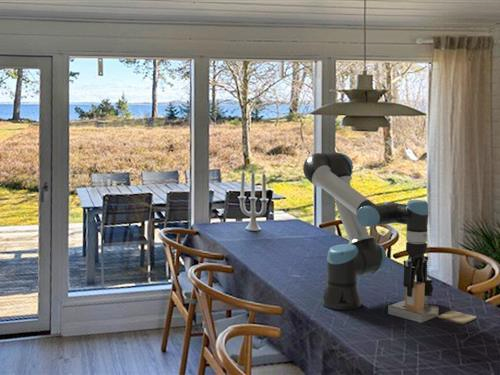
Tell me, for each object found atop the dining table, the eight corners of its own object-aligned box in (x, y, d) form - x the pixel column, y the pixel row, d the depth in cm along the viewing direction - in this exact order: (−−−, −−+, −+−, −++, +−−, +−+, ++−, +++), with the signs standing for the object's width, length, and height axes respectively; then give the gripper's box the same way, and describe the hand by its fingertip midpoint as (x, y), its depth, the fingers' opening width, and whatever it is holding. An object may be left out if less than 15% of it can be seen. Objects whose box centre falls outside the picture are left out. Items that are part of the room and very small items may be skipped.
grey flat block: (388, 313, 218) (388, 305, 217) (405, 307, 226) (405, 298, 226) (421, 322, 208) (421, 314, 207) (438, 315, 216) (438, 307, 215)
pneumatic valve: (422, 299, 236) (423, 271, 235) (432, 308, 224) (433, 278, 223) (409, 299, 236) (410, 271, 234) (418, 308, 224) (419, 278, 223)
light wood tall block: (404, 313, 216) (405, 282, 215) (411, 311, 220) (413, 279, 219) (416, 317, 213) (417, 284, 212) (423, 314, 216) (424, 282, 215)
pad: (437, 317, 214) (438, 315, 214) (451, 311, 220) (451, 310, 220) (463, 324, 206) (463, 322, 206) (476, 318, 213) (476, 316, 213)
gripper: (412, 246, 205) (410, 310, 207) (438, 240, 217) (436, 300, 219) (394, 243, 210) (392, 305, 212) (420, 237, 222) (418, 296, 225)
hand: (414, 302), depth 216 cm, fingers closed on light wood tall block, 5 cm apart
